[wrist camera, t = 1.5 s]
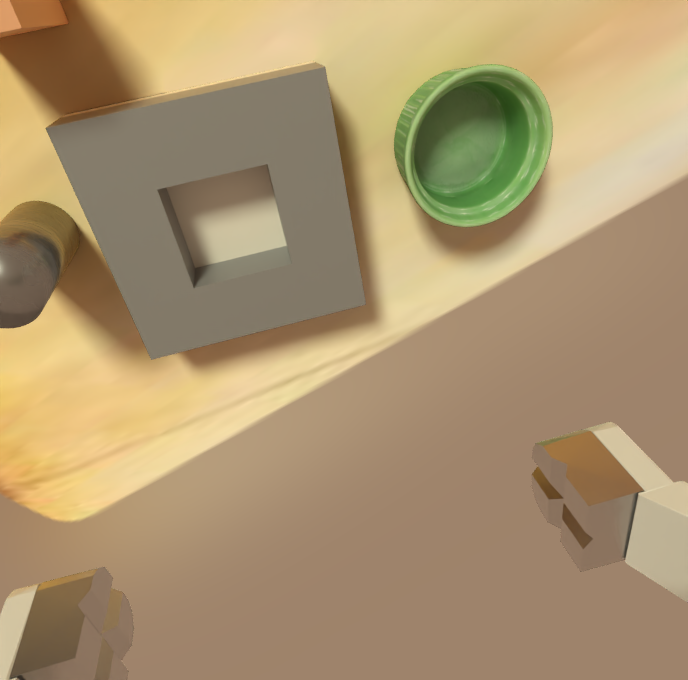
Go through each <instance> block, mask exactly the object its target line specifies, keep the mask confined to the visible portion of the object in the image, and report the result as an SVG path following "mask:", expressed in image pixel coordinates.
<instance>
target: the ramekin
mask: <svg viewBox="0 0 688 680" xmlns="http://www.w3.org/2000/svg"><path fill="white" fill-rule="evenodd" d="M552 137H553V125H552V117H551V112H550V108H549V105H548V103H547V101H546V98H545V96H544V95H543V93H542V91H541V90H540V88H539V87H538V86H537V85H536V84H535V82H534V81H532V80H531V79H530V78H529V77H528V76H526V75H525V74H523V73H522V72H520V71H518V70H516V69H513V68H511V67H507V66H503V65H496V64H487V65H479V66H474V67H470V68H461V69H454V70H450V71H446V72H443V73H441V74H439V75H437V76H435V77H433V78H431V79H430V80H428V81H427V82H425V83H424V84H423V85H422V86H421V87H420V88H418V90H417V91H416V92H415V93H414V94H413V95H412V96H411V97H410V99H409V100H408V101H407V103H406V104H405V106H404V108H403V110H402V112H401V115H400V117H399V120H398V123H397V127H396V131H395V138H394V151H395V158H396V162H397V166H398V168H399V171H400V173H401V175H402V177H403V179H404V180H405V182H406V183H407V185H408V187H409V189H410V191H411V193H412V195H413V197H414V199H415V200H416V202H417V203H418V205H419V206H420V207H421V208H422V209H423V210H424V211H425V212H426V213H427V214H428V215H430V216H431V217H432V218H434V219H436V220H437V221H440V222H442V223H444V224H447V225H451V226H457V227H475V226H481V225H485V224H488V223H491V222H493V221H496V220H498V219H500V218H502V217H504V216H505V215H507V214H508V213H510V212H511V211H512V210H514V209H515V208H516V207H517V206H518V205H520V204H521V203H522V202H523V201H524V200H525V198H526V197H527V196H528V195H529V194H530V192H531V191H532V190H533V189H534V187H535V185H536V184H537V182H538V181H539V179H540V177H541V175H542V173H543V171H544V169H545V167H546V164H547V161H548V158H549V155H550V150H551V145H552Z"/></svg>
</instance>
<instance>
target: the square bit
mask: <svg viewBox="0 0 688 680" xmlns="http://www.w3.org/2000/svg"><path fill="white" fill-rule="evenodd" d="M65 24H69V23H68V20H67V18H66V15H65V13H64V10H63V7H62V5H61V2H60V0H0V38H2V37H6V36H11V35H16V34H21V33H26V32H31V31H36V30H41V29H46V28H50V27H55V26H60V25H65Z"/></svg>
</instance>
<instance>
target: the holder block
mask: <svg viewBox="0 0 688 680" xmlns="http://www.w3.org/2000/svg"><path fill="white" fill-rule="evenodd" d="M46 130H47V132H48V135H49V137H50V139H51V141H52V143H53V146H54V148H55V150H56V152H57V154H58V156H59V159H60V161H61V163H62V165H63V167H64V170H65V172H66V174H67V176H68V178H69V181H70V183H71V185H72V187H73V189H74V192H75V194H76V196H77V198H78V200H79V202H80V205H81V207H82V209H83V211H84V213H85V216H86V218H87V220H88V222H89V224H90V227H91V229H92V231H93V233H94V235H95V237H96V240H97V242H98V244H99V246H100V248H101V251H102V253H103V255H104V257H105V259H106V262H107V264H108V266H109V268H110V270H111V273H112V275H113V277H114V279H115V281H116V283H117V286H118V288H119V290H120V292H121V294H122V297H123V299H124V301H125V303H126V305H127V308H128V310H129V312H130V314H131V316H132V319H133V321H134V323H135V325H136V327H137V329H138V332H139V334H140V336H141V338H142V340H143V343H144V345H145V347H146V349H147V351H148V354H149V356H150V358H151V360H152V359H156V358H160V357H164V356H168V355H171V354H175V353H179V352H183V351H187V350H191V349H195V348H199V347H203V346H207V345H210V344H214V343H218V342H222V341H226V340H230V339H234V338H238V337H242V336H246V335H249V334H253V333H257V332H261V331H265V330H269V329H273V328H277V327H281V326H285V325H288V324H292V323H296V322H300V321H304V320H308V319H312V318H316V317H320V316H324V315H327V314H331V313H335V312H339V311H343V310H347V309H351V308H355V307H359V306H363V305H366V301H365V295H364V290H363V284H362V278H361V272H360V266H359V261H358V255H357V249H356V243H355V237H354V232H353V226H352V220H351V214H350V208H349V203H348V197H347V191H346V185H345V179H344V174H343V168H342V162H341V156H340V150H339V145H338V139H337V133H336V127H335V121H334V116H333V110H332V104H331V98H330V92H329V87H328V81H327V75H326V69H325V67H324V66H322V65H320V64H318V63H316V62H314V61H310V62H305V63H301V64H296V65H291V66H287V67H282V68H278V69H273V70H268V71H264V72H259V73H255V74H250V75H245V76H241V77H236V78H232V79H227V80H223V81H218V82H213V83H209V84H204V85H200V86H195V87H190V88H186V89H181V90H177V91H172V92H167V93H163V94H158V95H154V96H149V97H144V98H140V99H135V100H131V101H126V102H121V103H117V104H112V105H108V106H103V107H99V108H94V109H89V110H85V111H80V112H76V113H71V114H66V115H64V116H62V117H61V118H60V119H58V120H57V121H55V122H54V123H52V124H51V125H49V126H48V127H47V128H46Z"/></svg>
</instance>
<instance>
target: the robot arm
mask: <svg viewBox="0 0 688 680" xmlns="http://www.w3.org/2000/svg"><path fill="white" fill-rule="evenodd" d="M532 458H533V460H534V461H535V463H536V464H537V465H538V467H537V468H536V469H535V471H534V472H533V473H532V489H533V492H534V496H535V499H536V502H537V504H538V506H539V508H540V510H541V512H542V514H543V515H544V517H545V518H546V520H547V522H549V523H551V524H553V525H555V526H556V527H558V528H561V543H562V544H563V546H564V548H565V549H566V551H567V552H568V554H569V555H570V556H571V558H572V559H573V561H574V563H575V564H576V565H577V567H578V568H579V570H580V572H582V571H586V570H590V569H593V568H597V567H600V566H604V565H608V564H611V563H615V562H619V561H622V560H625V563H627V564H628V565H630V566H631V567H633V568H634V569H636V570H638V571H639V572H641V573H642V574H644V575H645V576H647V577H648V578H650V579H652V580H653V581H655V582H656V583H658V584H660V585H661V586H663V587H664V588H666V589H667V590H669V591H670V592H672V593H674V594H675V595H677V596H678V597H680V598H682V599H683V600H684V601H686V602H687V603H688V483H686V482H684V481H679V482H675V483H674V482H673V481H672V480H671V479H670V478H669V477H668V476H667V475H666V474H665V473H664V472H663V471H662V470H661V469H660V468H659V467H658V466H657V465H656V464H655V463H654V462H653V461H652V460H651V459H650V458H649V457H648V456H647V455H646V454H645V453H644V452H643V451H642V450H641V449H640V448H639V447H638V446H637V445H636V444H635V443H634V442H633V441H632V440H631V439H630V438H629V437H628V436H627V435H626V434H625V433H624V432H623V431H622V430H621V429H620V428H619V427H618V426H617V425H616V424H614V423H612V422H608V423H604V424H601V425H598V426H594V427H591V428H587V429H585V430H578V431H575V432H572V433H569V434H565V435H562V436H559V437H555V438H552V439H548V440H545V441H542V442H538V443H536V444H535V446H534V447H533V453H532ZM112 580H113V577H112V576H111V575H110V573H109V572H108V571H107V570H106V568H105V567H102V568H96V569H93V570H89V571H85V572H81V573H77V574H73V575H69V576H65V577H61V578H58V579H53V580H50V581H46V582H43V583H39V584H35V585H31V586H28V587H24V588H20V589H16V590H14V591H13V592H12V593H11V594H10V595H9V597H8V598H7V599H6V601H5V603H4V607H3V609H2V612H1V615H0V680H127V678H128V670H127V668H126V667H125V665H124V664H123V662H122V661H121V660H122V659H123V657H124V656H125V654H126V653H127V651H128V650H129V648H130V647H131V645H132V639H133V630H134V626H133V617H132V616H133V615H132V610H131V607H130V604H129V601H128V599H127V598H126V596H125V594H124V593H123V592H122V591H119V590H116V589H113V588H111V586H112Z"/></svg>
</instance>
